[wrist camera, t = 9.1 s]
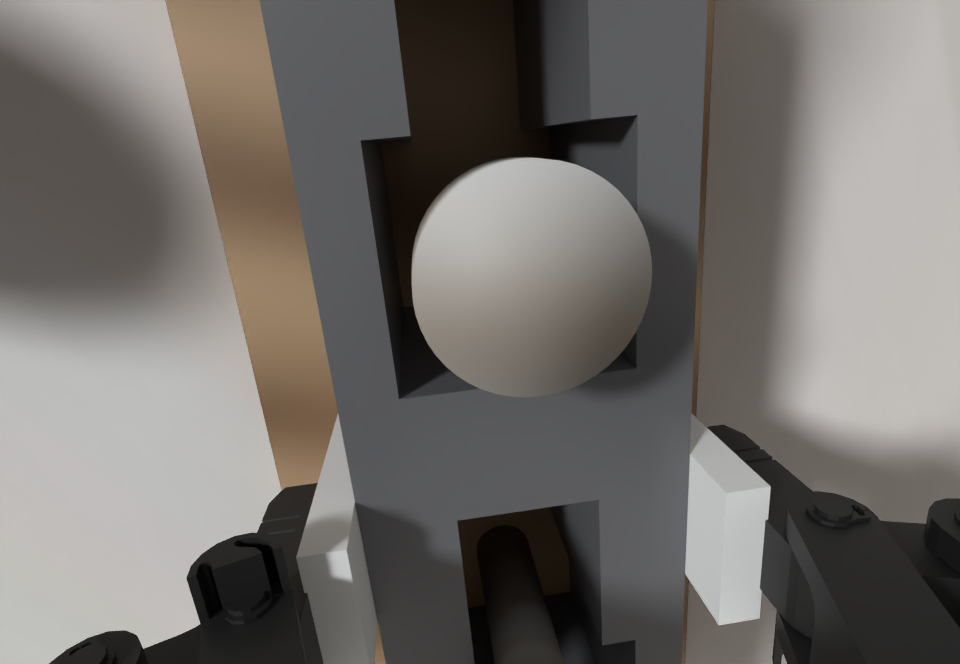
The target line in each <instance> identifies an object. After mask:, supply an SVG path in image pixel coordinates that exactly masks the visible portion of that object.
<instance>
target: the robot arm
mask: <svg viewBox="0 0 960 664" xmlns="http://www.w3.org/2000/svg"><path fill="white" fill-rule="evenodd" d="M262 521H263V523H261V525H260V527H259V529H258V532H257V533H248V534H243V535H238V536H234V537H232V538H229V539H227V540H225V541H222V542H220V543H218V544H216V545H215V546H213V547H212V548H210V549H209V550H207V551H206V552H204V553H203V554H202V555H201V556H200V557H199V558H198V559H197V560H196V561H195V562H194V563H193V565H192V566H191V568H190V570H189V573H188V576H187V581H188V584H189V588H190V591H191V594H192V597H193V601H194V604H195V607H196V610H197V613H198V617H199V620H200V623H201V624H200V625H198V626H197V627H195V628H193V629H191V630H189V631H187V632H185V633H183V634H181V635H178V636H176V637H173V638H170V639H168V640H165V641H163V642H160V643H158V644H155V645H153V646H150V647H147V648H145V649H143V648H142V645H141V643H140V641H139V639H138V637H137V635H135V634H133V633H130V632H128V631H109V632H105V633H102V634H99V635H96V636H93V637H90V638H87V639H85V640H84V641H82V642H80V643H78V644H76V645H74V646H73V647H71V648H69V649H67V650H66V651H65V652H63V653H62V654H61V655H59V656H58V657H57V658H56V659H54V660H53V661H52V662H51V663H49V664H375V652H376V638H377V625H378V620H377V615H376V609H375V604H374V599H373V594H372V589H371V583H370V578H369V573H368V568H367V562H366V557H365V552H364V547H363V541H362V536H361V531H360V526H359V520H358V515H357V510H356V505H355V499H354V494H353V489H352V484H351V478H350V473H349V468H348V463H347V457H346V452H345V447H344V442H343V436H342V431H341V426H340V421H339V415H337V419H336V422H335V425H334V429H333V432H332V436H331V439H330V443H329V446H328V450H327V453H326V456H325V460H324V463H323V467H322V470H321V474H320V477H319V481H318V483H313V484H306V485H299V486H292V487H285V488H284V489H283V490H282V491H281V492H280V493H279V494H278V495H277V496H276V497H275V498H274V499H273V500H272V501H271V502H270V503H269V505H268V508H267V510H266V513H265V515H264V517H263V520H262ZM685 574H686V576H687V577H688V579H689V580H690V582H691V584H692V585H693V587H694V588H695V590H696V591H697V593H698V594H699V596H700V597H701V599H702V600H703V602H704V604H705V605H706V607H707V608H708V610H709V611H710V613H711V614H712V616H713V617H714V619H715V620H716V622H717V623H718V625H725V624H731V623H736V622H742V621H748V620H754V619H760V607H761V595H762V592H763V593H764V594H765V596H766V597H767V598H768V599H769V601H770V602H771V603H772V604H773V606H774V607H775V608H776V609H777V615H776V625H775V636H774V646H773V656H772V659H773V664H781V659H782V655H783V654H784V656H785V658H786V661H787V664H960V499H948V498H947V499H943V500H940V501H936V502H934V503H933V504H932V506H931V507H930V508H929V512H928V517H927V522H926V524H918V523H903V522H887V521H880V520H879V519H878V517H877V516H876V515H875V514H874V513H873V512H872V511H870V510H869V509H868V508H867V507H866V506H864V505H862V504H860V503H858V502H856V501H855V500H853V499H850V498H847V497H844V496H841V495H837V494H834V493H826V492H819V491H816V492H813V491H812V490H810V489H809V488H808V487H807V486H806V485H804V484H803V483H802V482H801V481H800V480H798V479H797V478H796V477H795V476H794V475H792V474H791V473H790V472H789V471H788V470H787V469H785V468H784V467H783V466H782V465H781V464H779V463H778V462H777V461H776V460H772V457H771V456H770V455H769V454H767V453H766V452H765V451H764V450H763V449H762V450H760V447H759V446H758V445H757V444H756V443H754V442H753V441H752V440H751V439H750V438H748V437H747V436H746V435H745V434H743V433H741V432H738V431H736V430H734V429H732V428H729V427H727V426H725V425H718V426H711V427H706V426H705V425H704V424H703V423H702V422H700V421H699V420H698V419H697V418H696V417H695V416H694V415H693V414H692V413H691V436H690V462H689V487H688V512H687V537H686V562H685Z"/></svg>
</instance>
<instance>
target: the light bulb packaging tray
mask: <svg viewBox="0 0 960 664" xmlns="http://www.w3.org/2000/svg"><path fill="white" fill-rule="evenodd" d="M259 1H260V6H261V11H262V16H263V22H264V27H265V32H266V37H267V43H268V48H269V53H270V58H271V64H272V69H273V74H274V79H275V85H276V90H277V95H278V100H279V106H280V111H281V116H282V121H283V127H284V132H285V137H286V142H287V148H288V153H289V158H290V163H291V169H292V174H293V179H294V184H295V190H296V195H297V200H298V205H299V211H300V216H301V221H302V226H303V232H304V237H305V242H306V247H307V253H308V258H309V263H310V268H311V274H312V279H313V284H314V289H315V295H316V300H317V305H318V310H319V316H320V321H321V326H322V331H323V337H324V342H325V347H326V352H327V358H328V363H329V368H330V373H331V379H332V384H333V389H334V394H335V400H336V405H337V410H338V415H339V421H340V426H341V431H342V436H343V442H344V447H345V452H346V457H347V463H348V468H349V473H350V478H351V484H352V489H353V494H354V499H355V505H356V510H357V515H358V520H359V526H360V531H361V536H362V541H363V547H364V552H365V557H366V562H367V568H368V573H369V578H370V583H371V589H372V594H373V599H374V604H375V609H376V615H377V620H378V625H379V630H380V636H381V641H382V646H383V651H384V657H385V662H386V664H495V663H494V657H493V651H492V644H491V638H490V632H489V626H488V620H487V613H486V607H485V605H484V606H478V607H472V608H468V605H467V597H466V588H465V580H464V572H463V564H462V556H461V547H460V539H459V531H458V523H457V521H459V520H466V519H472V518H479V517H486V516H493V515H499V514H506V513H513V512H519V511H526V510H533V509H540V508H546V507H550V510H551V513H552V515H553V518H554V521H555V523H556V526H557V528H558V531H559V534H560V536H561V539H562V542H563V544H564V547H565V549H566V552H567V555H568V557H569V578H570V592H565V593H559V594H552V595H546V596H544V597H545V600H546V604H547V607H548V610H549V614H550V617H551V620H552V624H553V627H554V631H555V634H556V637H557V641H558V644H559V648H560V651H561V654H562V658H563V661H564V664H681V663H682V638H683V613H684V588H685V562H686V537H687V512H688V487H689V462H690V436H691V411H692V386H693V361H694V336H695V310H696V285H697V260H698V235H699V210H700V184H701V159H702V134H703V109H704V84H705V59H706V33H707V8H708V0H513V14H514V30H515V47H516V63H517V80H518V96H519V113H520V129H521V130H523V129H534V128H545V127H549V129H550V151H551V160H560V161H564V162H568V163H572V164H576V165H578V166H581V167H583V168H586V169H588V170H590V171H592V172H594V173H596V174H597V175H599V176H601V177H602V178H604V179H606V180H607V181H608V182H609V183H610V184H612V185H613V186H614V187H615V188H616V189H618V190H619V191H620V193H621V194H622V195H623V196H624V197H625V198H626V199H627V200H628V201H629V203H630V204H631V206H632V207H633V209H634V210H635V212H636V213H637V215H638V217H639V219H640V221H641V223H642V225H643V227H644V230H645V233H646V236H647V239H648V242H649V247H650V253H651V259H652V282H651V291H650V295H649V300H648V304H647V307H646V310H645V313H644V316H643V319H642V321H641V323H640V325H639V327H638V329H637V331H636V333H635V334H634V336H633V337H632V339H631V340H630V342H629V344H628V345H627V346H626V347H625V349H624V350H623V351H622V352H621V354H620V355H619V356H618V357H617V358H616V359H615V360H614V361H613V362H612V363H611V364H610V365H609V366H608V367H606V368H605V369H604V370H602V371H601V372H600V373H598V374H597V375H596V376H594V377H593V378H591V379H589V380H588V381H586V382H584V383H582V384H580V385H578V386H576V387H574V388H571V389H569V390H566V391H563V392H559V393H556V394H552V395H547V396H541V397H528V398H523V397H509V396H504V395H498V394H494V393H491V392H488V391H485V390H482V389H480V388H478V387H475V386H473V385H471V384H469V383H468V382H466V381H464V380H463V379H461V378H460V377H458V376H457V375H455V374H454V373H453V372H452V371H451V370H449V369H448V368H447V367H446V366H445V365H444V364H443V363H442V362H441V361H440V359H439V358H438V357H437V356H436V355H435V353H434V352H433V351H432V349H431V348H430V346H429V345H428V343H427V341H426V339H425V337H424V335H423V334H422V332H421V329H420V326H419V324H418V321H417V318H416V315H415V310H414V306H410V307H403V299H402V292H401V285H400V278H399V270H398V263H397V256H396V249H395V241H394V234H393V227H392V220H391V213H390V205H389V198H388V191H387V184H386V176H385V169H384V162H383V155H382V147H381V143H382V142H393V141H404V140H411V135H410V127H409V119H408V111H407V102H406V94H405V86H404V78H403V69H402V61H401V53H400V45H399V37H398V28H397V20H396V12H395V4H394V0H259Z"/></svg>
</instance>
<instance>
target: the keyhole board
mask: <svg viewBox="0 0 960 664" xmlns="http://www.w3.org/2000/svg"><path fill="white" fill-rule="evenodd" d="M165 1H166V5H167V9H168V14H169V18H170V22H171V26H172V30H173V35H174V39H175V43H176V47H177V52H178V56H179V60H180V64H181V68H182V73H183V77H184V81H185V85H186V89H187V94H188V98H189V102H190V106H191V111H192V115H193V119H194V123H195V127H196V132H197V136H198V140H199V144H200V148H201V153H202V157H203V161H204V165H205V169H206V174H207V178H208V182H209V186H210V191H211V195H212V199H213V203H214V207H215V212H216V216H217V220H218V224H219V228H220V233H221V237H222V241H223V245H224V250H225V254H226V258H227V262H228V266H229V271H230V275H231V279H232V283H233V287H234V292H235V296H236V300H237V304H238V308H239V313H240V317H241V321H242V325H243V330H244V334H245V338H246V342H247V346H248V351H249V355H250V359H251V363H252V367H253V372H254V376H255V380H256V384H257V389H258V393H259V397H260V401H261V405H262V410H263V414H264V418H265V422H266V426H267V431H268V435H269V439H270V443H271V448H272V452H273V456H274V460H275V464H276V469H277V473H278V477H279V481H280V485H281V490H283V489H284V488H285V487H292V486H299V485H306V484H313V483H318V481H319V477H320V474H321V470H322V467H323V463H324V460H325V456H326V453H327V450H328V446H329V443H330V439H331V436H332V432H333V429H334V425H335V422H336V419H337V415H338V410H337V405H336V400H335V394H334V389H333V384H332V379H331V373H330V368H329V363H328V358H327V352H326V347H325V342H324V337H323V331H322V326H321V321H320V316H319V310H318V305H317V300H316V295H315V289H314V284H313V279H312V274H311V268H310V263H309V258H308V253H307V247H306V242H305V237H304V232H303V226H302V221H301V216H300V211H299V205H298V200H297V195H296V190H295V184H294V179H293V174H292V169H291V163H290V158H289V153H288V148H287V142H286V137H285V132H284V127H283V121H282V116H281V111H280V106H279V100H278V95H277V90H276V85H275V79H274V74H273V69H272V64H271V58H270V53H269V48H268V43H267V37H266V32H265V27H264V22H263V16H262V11H261V6H260V1H259V0H165ZM394 4H395V12H396V20H397V28H398V37H399V45H400V53H401V61H402V69H403V78H404V86H405V94H406V102H407V111H408V119H409V127H410V135H411V140H404V141H393V142H382V143H381V147H382V155H383V162H384V169H385V176H386V184H387V191H388V198H389V205H390V213H391V220H392V227H393V234H394V241H395V249H396V256H397V263H398V270H399V278H400V285H401V292H402V299H403V307H410V306H414V310H415V315H416V318H417V321H418V324H419V326H420V329H421V332H422V334H423V335H424V337H425V339H426V341H427V343H428V345H429V346H430V348H431V349H432V351H433V352H434V353H435V355H436V356H437V357H438V358H439V359H440V361H441V362H442V363H443V364H444V365H445V366H446V367H447V368H448V369H449V370H451V371H452V372H453V373H454V374H455V375H457V376H458V377H460V378H461V379H463V380H464V381H466V382H468V383H469V384H471V385H473V386H475V387H478V388H480V389H482V390H485V391H488V392H491V393H494V394H498V395H504V396H509V397H523V398H528V397H541V396H547V395H552V394H556V393H559V392H563V391H566V390H569V389H571V388H574V387H576V386H578V385H580V384H582V383H584V382H586V381H588V380H589V379H591V378H593V377H594V376H596V375H597V374H598V373H600V372H601V371H602V370H604V369H605V368H606V367H608V366H609V365H610V364H611V363H612V362H613V361H614V360H615V359H616V358H617V357H618V356H619V355H620V354H621V352H622V351H623V350H624V349H625V347H626V346H627V345H628V344H629V342H630V340H631V339H632V337H633V336H634V334H635V333H636V331H637V329H638V327H639V325H640V323H641V321H642V319H643V316H644V313H645V310H646V307H647V304H648V300H649V295H650V291H651V282H652V259H651V253H650V247H649V242H648V239H647V236H646V233H645V230H644V227H643V225H642V223H641V221H640V219H639V217H638V215H637V213H636V212H635V210H634V209H633V207H632V206H631V204H630V203H629V201H628V200H627V199H626V198H625V197H624V196H623V195H622V194H621V193H620V191H619V190H618V189H616V188H615V187H614V186H613V185H612V184H610V183H609V182H608V181H607V180H606V179H604V178H602V177H601V176H599V175H597V174H596V173H594V172H592V171H590V170H588V169H586V168H583V167H581V166H578V165H576V164H572V163H568V162H564V161H560V160H551V151H550V129H549V127H545V128H534V129H523V130H521V129H520V113H519V96H518V80H517V63H516V47H515V30H514V14H513V0H394ZM713 23H714V0H708V8H707V33H706V59H705V84H704V109H703V134H702V159H701V184H700V210H699V235H698V260H697V285H696V310H695V336H694V361H693V386H692V411H691V413H692V414H693V415H694V416H695V417H696V405H697V383H698V360H699V338H700V315H701V293H702V270H703V248H704V225H705V203H706V180H707V158H708V135H709V113H710V90H711V68H712V45H713ZM457 523H458V531H459V539H460V547H461V556H462V564H463V572H464V580H465V588H466V597H467V605H468V608H472V607H478V606H484V605H485V607H486V613H487V620H488V626H489V632H490V638H491V644H492V651H493V657H494V663H495V664H564V661H563V658H562V654H561V651H560V648H559V644H558V641H557V637H556V634H555V631H554V627H553V624H552V620H551V617H550V614H549V610H548V607H547V604H546V600H545V597H544V596H546V595H552V594H559V593H565V592H570V578H569V557H568V555H567V552H566V549H565V547H564V544H563V542H562V539H561V536H560V534H559V531H558V528H557V526H556V523H555V521H554V518H553V515H552V513H551V510H550V507H546V508H540V509H533V510H526V511H519V512H513V513H506V514H499V515H493V516H486V517H479V518H472V519H466V520H459V521H457ZM688 585H689V579H688V577H687V576H686V574H685V588H684V613H683V638H682V663H681V664H685V653H686V630H687V608H688ZM375 664H386V662H385V657H384V651H383V646H382V641H381V636H380V630H379V625H377V638H376V652H375Z"/></svg>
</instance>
